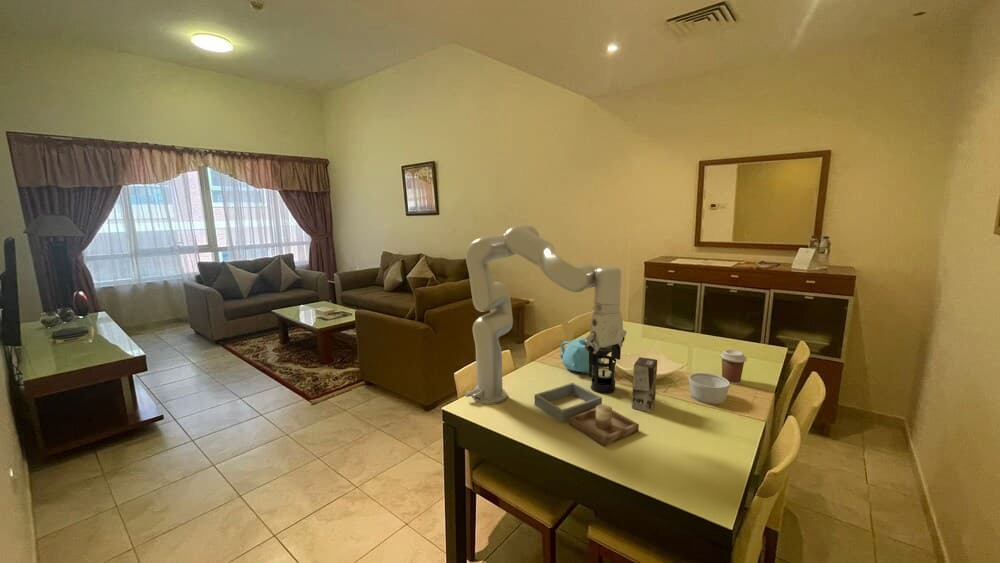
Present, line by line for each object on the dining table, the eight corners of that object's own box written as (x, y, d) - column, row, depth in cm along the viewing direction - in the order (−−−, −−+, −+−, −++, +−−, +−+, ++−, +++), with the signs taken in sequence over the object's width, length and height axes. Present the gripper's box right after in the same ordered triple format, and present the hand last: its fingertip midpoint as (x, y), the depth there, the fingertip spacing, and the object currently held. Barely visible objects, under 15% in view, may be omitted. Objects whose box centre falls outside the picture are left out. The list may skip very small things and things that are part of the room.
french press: (622, 389, 155) (624, 332, 151) (607, 397, 150) (608, 337, 146) (597, 380, 165) (598, 325, 160) (582, 386, 159) (583, 330, 155)
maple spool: (603, 431, 125) (604, 413, 124) (592, 424, 129) (592, 407, 128) (615, 426, 128) (615, 409, 127) (603, 420, 132) (603, 403, 131)
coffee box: (650, 412, 138) (652, 368, 135) (631, 408, 141) (632, 364, 138) (655, 402, 145) (658, 359, 142) (637, 397, 149) (639, 356, 146)
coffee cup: (719, 383, 159) (722, 354, 157) (716, 375, 167) (719, 347, 165) (746, 387, 156) (749, 357, 153) (742, 378, 164) (744, 349, 162)
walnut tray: (604, 447, 119) (604, 439, 118) (569, 424, 131) (569, 417, 131) (638, 431, 126) (638, 424, 126) (602, 411, 139) (603, 405, 138)
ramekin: (726, 393, 151) (728, 375, 150) (729, 409, 139) (731, 390, 138) (687, 387, 157) (689, 370, 155) (687, 402, 145) (688, 383, 144)
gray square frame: (562, 423, 132) (562, 411, 131) (534, 405, 145) (534, 394, 144) (601, 408, 141) (602, 397, 141) (572, 392, 154) (572, 382, 153)
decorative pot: (593, 361, 185) (594, 332, 183) (606, 374, 170) (607, 343, 167) (558, 362, 184) (559, 334, 182) (568, 377, 168) (568, 345, 166)
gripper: (594, 314, 114) (592, 371, 117) (636, 306, 123) (633, 359, 126) (576, 309, 120) (575, 363, 124) (617, 301, 129) (615, 352, 133)
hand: (604, 361), depth 125 cm, fingers open, 9 cm apart
